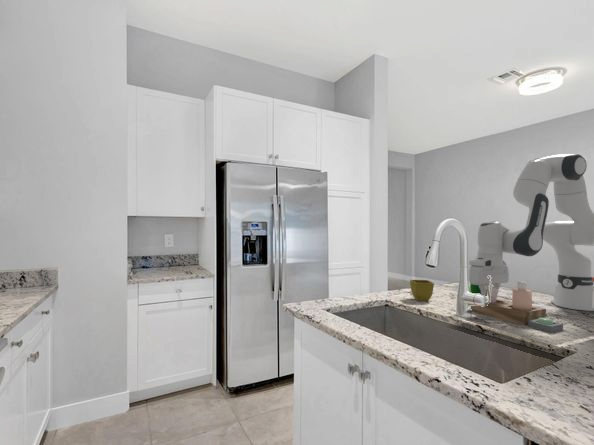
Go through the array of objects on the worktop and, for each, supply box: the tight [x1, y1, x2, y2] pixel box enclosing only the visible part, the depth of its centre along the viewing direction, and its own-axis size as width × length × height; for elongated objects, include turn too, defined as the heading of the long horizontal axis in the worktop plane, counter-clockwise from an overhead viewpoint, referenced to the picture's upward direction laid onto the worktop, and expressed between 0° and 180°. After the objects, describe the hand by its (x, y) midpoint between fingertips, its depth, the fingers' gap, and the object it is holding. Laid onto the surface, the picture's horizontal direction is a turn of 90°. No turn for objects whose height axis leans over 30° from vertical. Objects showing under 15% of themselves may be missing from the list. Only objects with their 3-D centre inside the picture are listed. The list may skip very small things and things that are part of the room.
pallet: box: [471, 298, 547, 326], centre depth 127 cm, size 13×22×6 cm, turn 25°
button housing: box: [527, 319, 564, 333], centre depth 111 cm, size 7×7×3 cm
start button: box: [538, 317, 554, 325], centre depth 111 cm, size 4×4×4 cm
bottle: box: [511, 281, 533, 311], centre depth 121 cm, size 6×6×14 cm
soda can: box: [469, 282, 481, 294], centre depth 157 cm, size 8×8×12 cm
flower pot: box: [409, 279, 435, 302], centre depth 157 cm, size 9×9×9 cm
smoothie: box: [485, 286, 499, 303], centre depth 133 cm, size 6×6×14 cm
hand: (489, 294), depth 133 cm, fingers closed on smoothie, 5 cm apart
